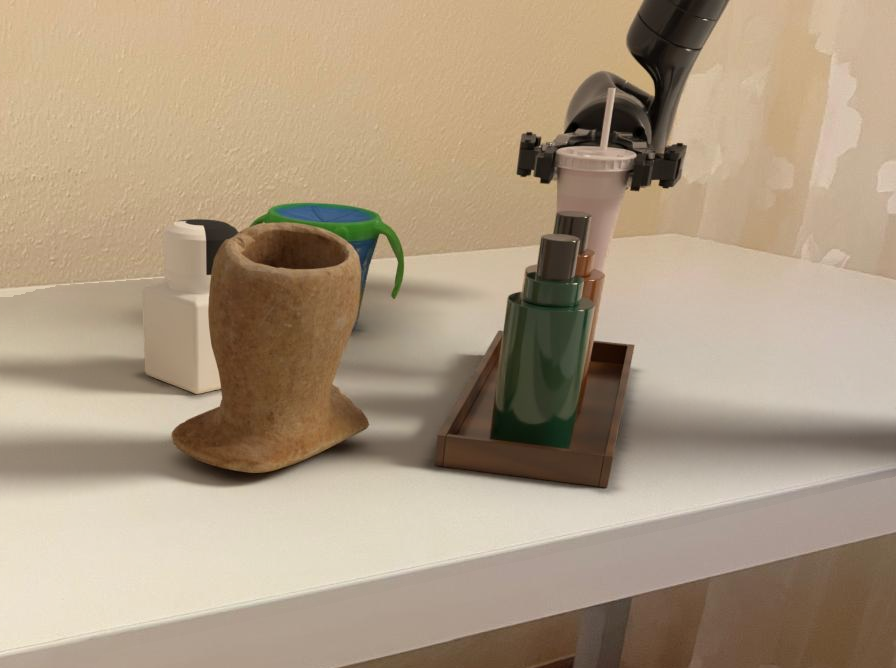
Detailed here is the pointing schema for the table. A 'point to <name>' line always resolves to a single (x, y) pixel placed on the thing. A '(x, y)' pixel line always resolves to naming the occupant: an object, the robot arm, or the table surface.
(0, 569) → the table surface
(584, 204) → the smoothie
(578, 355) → the green bottle
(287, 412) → the stone cup
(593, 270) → the amber bottle
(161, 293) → the medicine bottle
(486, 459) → the tray
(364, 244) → the snack cup
